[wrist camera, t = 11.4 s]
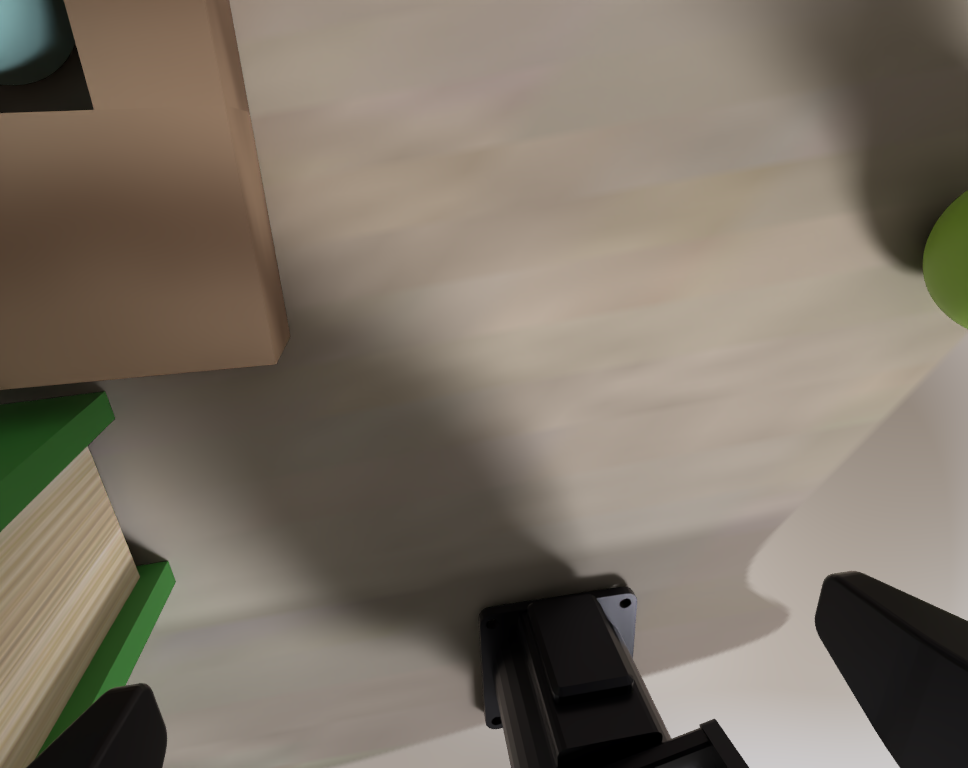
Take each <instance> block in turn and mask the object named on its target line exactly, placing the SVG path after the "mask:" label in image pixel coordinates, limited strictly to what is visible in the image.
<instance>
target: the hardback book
mask: <svg viewBox="0 0 968 768" xmlns="http://www.w3.org/2000/svg"><path fill="white" fill-rule="evenodd" d="M114 419H115V417H114V414H113V411H112V408H111V406H110V403H109V400H108V398H107V395H106V392H105V391H103V392H96V393H88V394H80V395H72V396H64V397H56V398H48V399H41V400H33V401H25V402H17V403H9V404H1V405H0V768H26V767H27V766H28V765H29V764H30V763H31V762H32V761H33V760H34V759H35V758H37V757H38V756H39V755H40V754H41V753H42V752H43V751H44V750H45V749H46V748H47V747H48V746H49V745H50V744H51V743H52V742H53V741H54V740H55V739H56V738H57V737H58V736H60V735H61V734H62V733H63V732H64V731H65V730H66V729H67V728H68V727H69V726H70V725H71V724H72V723H73V722H74V721H75V720H76V719H77V718H78V717H79V716H80V715H81V714H83V713H84V712H85V711H86V710H87V709H88V708H89V707H90V706H91V705H92V704H93V703H94V702H95V701H96V700H97V699H98V698H99V697H100V696H101V695H103V694H104V693H105V692H106V691H108V690H109V689H112V688H115V687H120V686H125V685H126V683H127V681H128V679H129V677H130V675H131V673H132V671H133V669H134V666H135V664H136V662H137V660H138V658H139V656H140V654H141V652H142V650H143V648H144V646H145V644H146V642H147V640H148V638H149V636H150V634H151V632H152V630H153V627H154V625H155V623H156V621H157V619H158V617H159V615H160V613H161V611H162V609H163V607H164V605H165V603H166V601H167V599H168V597H169V595H170V593H171V590H172V588H173V586H174V584H175V582H176V581H175V578H174V576H173V573H172V570H171V568H170V565H169V562H168V561H165V562H159V563H152V564H146V565H140V566H135V563H134V561H133V558H132V556H131V553H130V551H129V548H128V546H127V543H126V541H125V538H124V536H123V533H122V531H121V528H120V526H119V523H118V521H117V518H116V516H115V513H114V511H113V508H112V506H111V503H110V501H109V498H108V496H107V493H106V491H105V488H104V486H103V483H102V481H101V478H100V476H99V473H98V471H97V468H96V466H95V463H94V461H93V458H92V456H91V453H90V451H89V448H88V445H89V444H90V443H91V442H92V441H93V440H94V439H95V438H96V437H97V436H98V435H99V434H100V433H101V432H102V431H103V430H104V429H105V428H106V427H107V426H108V425H109V424H110V423H111V422H112V421H113V420H114Z"/></svg>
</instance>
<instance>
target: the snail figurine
mask: <svg viewBox="0 0 968 768" xmlns="http://www.w3.org/2000/svg"><path fill="white" fill-rule="evenodd" d="M923 275H924V280H925V283H926V286H927V289H928V291H929V293H930V295H931V297H932V299H933V300H934V302H935V303H936V304H937V306H938V307H939V308H940V309H941V310H942V311H943V312H944V313H945V314H946V315H947V316H948V317H949V318H951V319H952V320H953V321H955V322H956V323H958V324H959V325H961V326H963V327H965V328H967V329H968V190H967V191H966V192H964V193H963V194H962V195H960V196H959V197H958V198H957V199H956V200H955V201H954V202H953V203H952V204H951V205H950V206H949V207H948V208H947V209H946V210H945V211H944V212H943V214H942V215H941V216H940V217H939V219H938V220H937V222H936V223H935V225H934V227H933V229H932V230H931V232H930V235H929V237H928V239H927V242H926V246H925V249H924V255H923Z"/></svg>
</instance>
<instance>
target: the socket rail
mask: <svg viewBox="0 0 968 768" xmlns="http://www.w3.org/2000/svg"><path fill="white" fill-rule="evenodd" d="M64 3H65V7H66V10H67V14H68V18H69V21H70V25H71V28H72V32H73V36H74V39H75V43H76V46H77V50H78V54H79V57H80V61H81V64H82V68H83V72H84V75H85V79H86V82H87V86H88V90H89V93H90V97H91V101H92V104H93V108H94V110H78V111H49V112H21V113H0V390H5V389H16V388H26V387H37V386H48V385H59V384H70V383H80V382H91V381H102V380H113V379H123V378H134V377H145V376H156V375H167V374H177V373H188V372H199V371H210V370H221V369H231V368H242V367H253V366H264V365H274V364H277V362H278V360H279V358H280V356H281V354H282V352H283V350H284V348H285V346H286V344H287V342H288V340H289V338H290V332H289V326H288V321H287V315H286V310H285V304H284V299H283V293H282V288H281V282H280V277H279V271H278V266H277V261H276V255H275V250H274V244H273V239H272V233H271V228H270V222H269V217H268V211H267V206H266V200H265V195H264V189H263V184H262V178H261V173H260V167H259V162H258V157H257V151H256V146H255V140H254V135H253V129H252V124H251V118H250V113H249V107H248V102H247V96H246V91H245V85H244V80H243V74H242V69H241V63H240V58H239V53H238V47H237V42H236V36H235V31H234V25H233V20H232V14H231V9H230V3H229V0H64Z"/></svg>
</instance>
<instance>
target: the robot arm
mask: <svg viewBox="0 0 968 768" xmlns="http://www.w3.org/2000/svg"><path fill="white" fill-rule="evenodd" d="M625 598H626V599H625ZM623 599H625V600H623ZM622 600H623V601H622ZM636 610H637V598H636V596H635V594H634V592H633V591H632V590H631V588H628V587H618V588H611V589H605V590H598V591H591V592H585V593H578V594H572V595H565V596H559V597H552V598H546V599H539V600H533V601H526V602H520V603H513V604H507V605H500V606H494V607H489V608H486V609H484V610H483V611H481V613H480V614H479V618H478V621H479V637H480V653H481V669H482V686H483V702H484V716H485V721H486V725H487V726H488V727H489V728H491V729H499V728H503V730H504V735H505V740H506V744H507V749H508V755H509V759H510V765H511V768H749V767H748V765H747V764H746V763H745V761H744V760H743V758H742V757H741V756H740V754H739V753H738V751H737V750H736V748H735V747H734V745H733V744H732V742H731V741H730V740H729V738H728V737H727V735H726V734H725V732H724V731H723V729H722V728H721V727H720V725H719V724H718V722H717V721H716V720H715V719H713V720H710V721H708V722H705V723H703V724H700V728H699V729H696V730H694V731H691V732H688V733H686V734H683V735H680V736H678V737H675V738H673V739H671V737H670V735H669V733H668V731H667V729H666V727H665V725H664V722H663V720H662V718H661V716H660V714H659V712H658V710H657V708H656V706H655V704H654V702H653V700H652V698H651V696H650V694H649V692H648V690H647V688H646V685H645V683H644V681H643V679H642V677H641V675H640V673H639V671H638V669H637V667H636V665H635V663H634V661H633V648H634V635H635V623H636ZM491 619H495V620H494V621H491V622H489V620H491ZM815 626H816V630H817V632H818V635H819V637H820V639H821V640H822V642H823V644H824V646H825V647H826V649H827V651H828V652H829V654H830V656H831V657H832V659H833V660H834V662H835V664H836V665H837V667H838V669H839V671H840V672H841V674H842V676H843V677H844V679H845V680H846V682H847V684H848V686H849V687H850V689H851V691H852V692H853V694H854V696H855V697H856V699H857V701H858V702H859V704H860V706H861V707H862V709H863V711H864V712H865V714H866V716H867V717H868V719H869V721H870V722H871V724H872V726H873V727H874V729H875V731H876V732H877V734H878V735H879V737H880V738H881V740H882V742H883V743H884V745H885V746H886V748H887V749H888V751H889V752H890V753H891V755H892V756H893V758H894V759H895V761H896V762H897V764H898V765H899V767H900V768H968V621H966V620H964V619H962V618H960V617H958V616H955V615H953V614H951V613H949V612H947V611H944V610H942V609H940V608H938V607H936V606H933V605H931V604H929V603H927V602H925V601H923V600H920V599H918V598H916V597H914V596H912V595H909V594H907V593H905V592H903V591H901V590H898V589H896V588H894V587H892V586H890V585H887V584H885V583H883V582H881V581H879V580H876V579H874V578H872V577H870V576H868V575H865V574H863V573H861V572H857V571H848V572H841V573H835V574H830V575H828V576H827V577H826V578H825V579H824V581H823V585H822V589H821V593H820V597H819V602H818V606H817V610H816V614H815ZM166 747H167V731H166V726H165V723H164V721H163V718H162V715H161V713H160V710H159V707H158V705H157V702H156V699H155V697H154V694H153V691H152V690H151V688H150V687H149V686H148V685H147V684H143V683H139V684H133V685H127V686H120V687H115V688H112V689H109V690H108V691H106V692H105V693H104V694H103V695H101V696H100V697H99V698H98V699H97V700H96V701H95V702H94V703H93V704H92V705H91V706H90V707H89V708H88V709H87V710H86V711H85V712H84V713H83V714H81V715H80V716H79V717H78V718H77V719H76V720H75V721H74V722H73V723H72V724H71V725H70V726H69V727H68V728H67V729H66V730H65V731H64V732H63V733H62V734H61V735H60V736H58V737H57V738H56V739H55V740H54V741H53V742H52V743H51V744H50V745H49V746H48V747H47V748H46V749H45V750H44V751H43V752H42V753H41V754H40V755H39V756H38V757H37V758H35V759H34V760H33V761H32V762H31V763H30V764H29V765H28V766H27V767H26V768H162V767H163V762H164V757H165V753H166Z"/></svg>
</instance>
